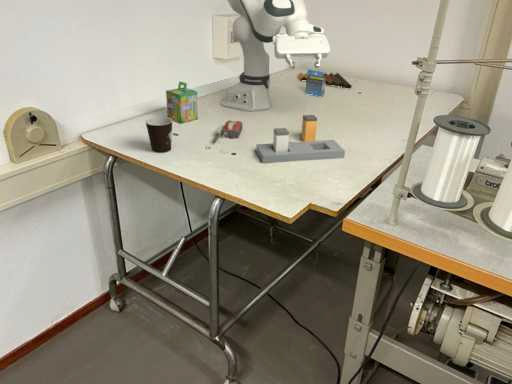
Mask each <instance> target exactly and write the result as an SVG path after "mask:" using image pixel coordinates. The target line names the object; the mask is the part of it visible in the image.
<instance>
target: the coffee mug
mask: <svg viewBox="0 0 512 384" xmlns="http://www.w3.org/2000/svg"><path fill="white" fill-rule="evenodd" d="M145 125H146V129H147V134H148V139H149V143H150V147H151V151H152V152H154V153H157V154H161V153H163V154H165V153H168V152H170V151H171V150H172V136H173V134H172V133H173V120H172V119H170V118H167V117H166V116H154V117H150V118H148V119H146V120H145Z"/></svg>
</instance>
